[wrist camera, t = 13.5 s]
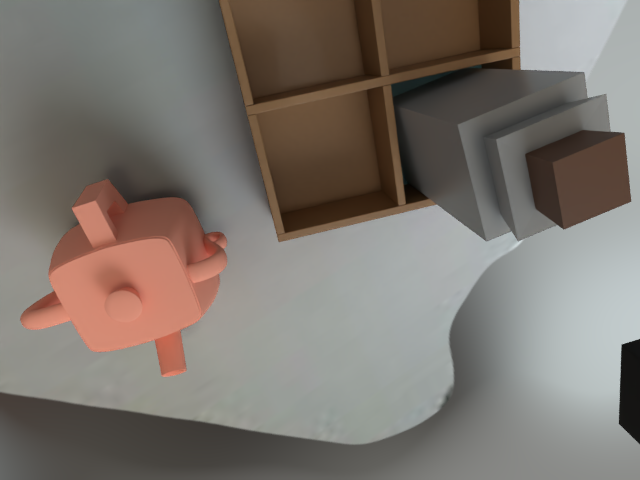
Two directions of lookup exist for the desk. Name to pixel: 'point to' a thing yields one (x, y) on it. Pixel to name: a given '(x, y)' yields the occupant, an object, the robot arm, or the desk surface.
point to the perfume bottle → (512, 149)
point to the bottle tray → (349, 94)
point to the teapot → (132, 274)
